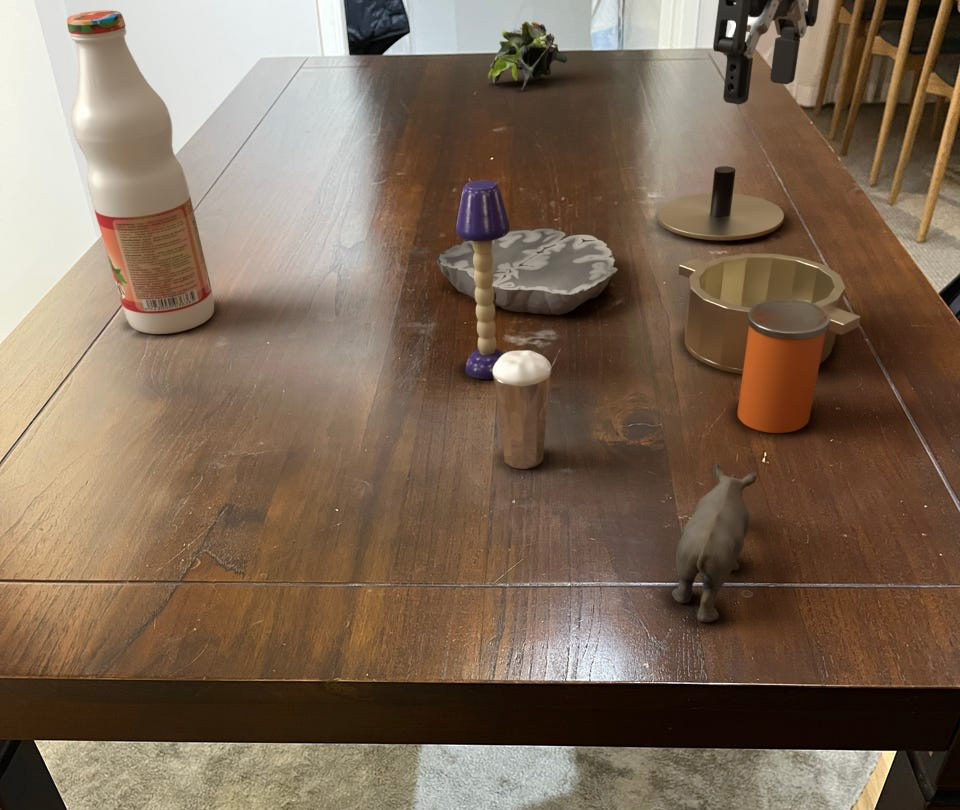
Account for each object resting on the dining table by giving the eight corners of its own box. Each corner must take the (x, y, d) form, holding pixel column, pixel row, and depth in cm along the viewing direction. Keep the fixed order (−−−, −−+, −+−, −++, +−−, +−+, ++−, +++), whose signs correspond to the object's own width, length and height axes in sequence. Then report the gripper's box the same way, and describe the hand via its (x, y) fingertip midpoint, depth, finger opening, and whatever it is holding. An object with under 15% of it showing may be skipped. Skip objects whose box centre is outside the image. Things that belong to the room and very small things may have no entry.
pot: (727, 293, 106) (734, 235, 102) (886, 352, 94) (901, 289, 90) (634, 333, 100) (638, 273, 96) (792, 401, 88) (803, 337, 84)
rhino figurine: (760, 515, 76) (771, 445, 72) (723, 628, 66) (734, 555, 62) (705, 505, 77) (714, 436, 73) (661, 616, 68) (668, 543, 64)
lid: (713, 193, 129) (718, 142, 125) (808, 222, 120) (817, 167, 116) (631, 223, 122) (634, 170, 118) (725, 255, 114) (732, 199, 109)
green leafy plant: (536, 113, 181) (576, 49, 174) (525, 117, 172) (567, 50, 165) (485, 72, 179) (524, 6, 173) (472, 74, 170) (512, 4, 164)
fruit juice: (181, 341, 103) (100, 28, 85) (109, 329, 106) (15, 24, 88) (233, 305, 110) (169, 6, 91) (163, 294, 113) (87, 3, 94)
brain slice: (649, 273, 111) (651, 246, 109) (571, 333, 101) (571, 304, 99) (500, 243, 120) (500, 217, 118) (414, 295, 109) (412, 268, 107)
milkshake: (552, 478, 81) (552, 362, 74) (489, 469, 82) (483, 355, 76) (567, 449, 84) (568, 336, 77) (506, 441, 85) (502, 329, 79)
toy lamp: (458, 361, 97) (446, 180, 86) (504, 353, 98) (498, 172, 87) (473, 383, 94) (462, 197, 82) (520, 374, 94) (516, 188, 83)
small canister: (767, 390, 90) (782, 292, 84) (827, 416, 86) (847, 315, 80) (719, 415, 87) (731, 315, 81) (778, 443, 83) (796, 340, 77)
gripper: (783, -111, 78) (755, 116, 89) (867, -131, 86) (831, 81, 97) (701, -114, 82) (683, 104, 93) (788, -132, 90) (762, 71, 101)
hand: (759, 92), depth 95 cm, fingers open, 8 cm apart
